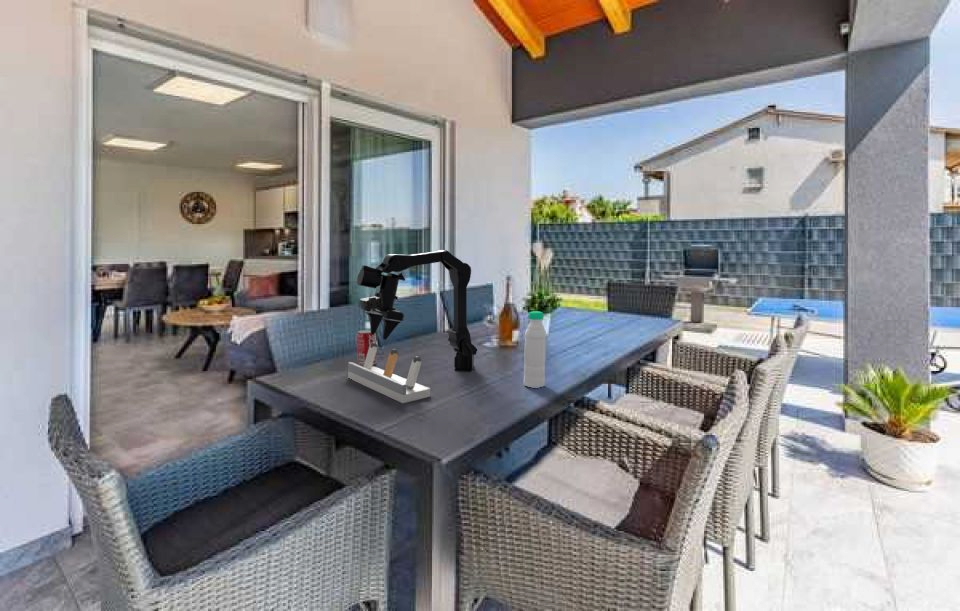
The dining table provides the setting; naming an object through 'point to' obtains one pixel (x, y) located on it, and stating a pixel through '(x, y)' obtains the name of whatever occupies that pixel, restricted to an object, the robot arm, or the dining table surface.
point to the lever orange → (391, 363)
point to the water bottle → (535, 351)
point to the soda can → (364, 345)
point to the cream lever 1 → (370, 355)
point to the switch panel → (386, 383)
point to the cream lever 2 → (413, 372)
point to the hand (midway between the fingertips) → (378, 336)
